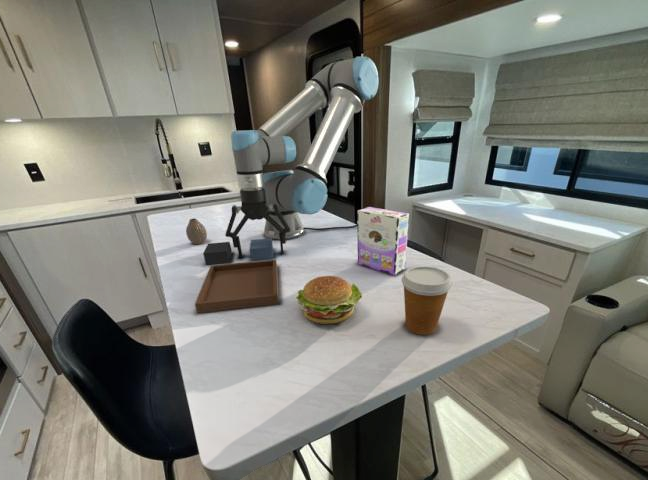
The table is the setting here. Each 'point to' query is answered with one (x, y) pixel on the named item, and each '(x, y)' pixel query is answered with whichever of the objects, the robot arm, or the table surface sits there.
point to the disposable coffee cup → (424, 297)
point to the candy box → (382, 239)
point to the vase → (196, 232)
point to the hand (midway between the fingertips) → (261, 254)
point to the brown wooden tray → (239, 286)
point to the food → (328, 299)
